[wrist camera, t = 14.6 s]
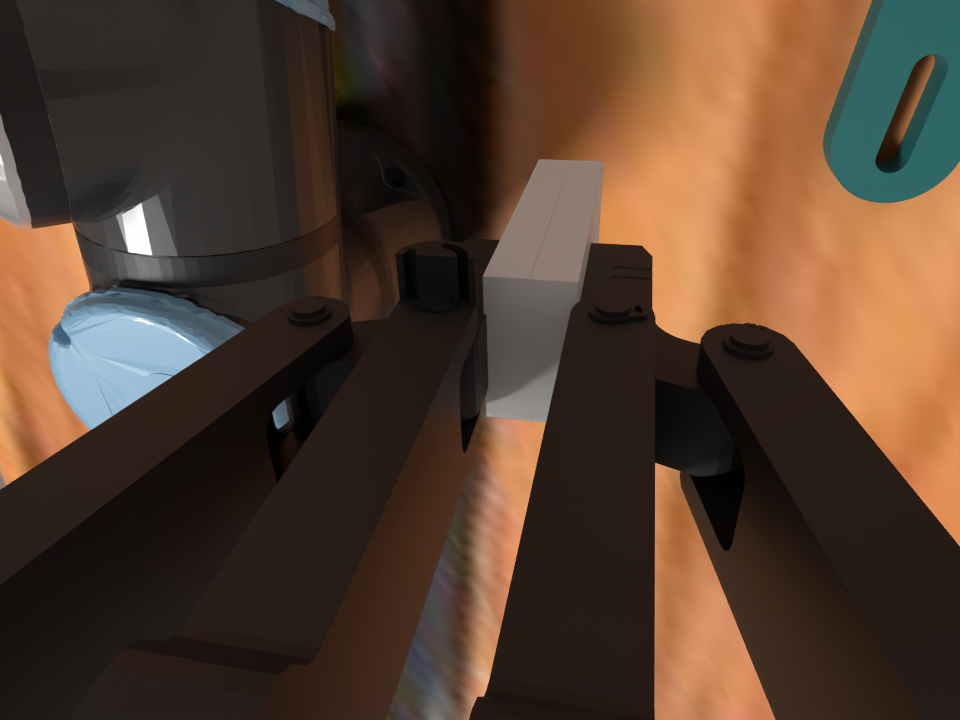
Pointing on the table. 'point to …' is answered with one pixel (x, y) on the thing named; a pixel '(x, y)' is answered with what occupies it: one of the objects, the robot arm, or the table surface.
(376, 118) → the table surface
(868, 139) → the bracket
